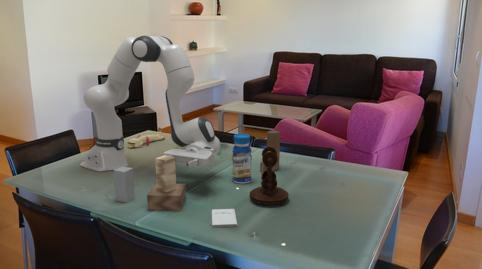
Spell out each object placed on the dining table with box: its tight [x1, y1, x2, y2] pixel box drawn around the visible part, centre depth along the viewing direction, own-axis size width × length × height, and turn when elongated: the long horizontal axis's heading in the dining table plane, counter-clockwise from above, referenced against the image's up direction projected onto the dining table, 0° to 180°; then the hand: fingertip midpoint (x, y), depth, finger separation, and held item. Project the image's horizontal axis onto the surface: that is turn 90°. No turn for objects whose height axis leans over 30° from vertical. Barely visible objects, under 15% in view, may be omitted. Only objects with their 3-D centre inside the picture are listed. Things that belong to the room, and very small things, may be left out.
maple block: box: [154, 155, 177, 192], centre depth 156 cm, size 5×5×12 cm
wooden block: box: [259, 129, 281, 173], centre depth 194 cm, size 9×4×18 cm, turn 139°
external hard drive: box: [211, 208, 238, 229], centre depth 146 cm, size 2×8×12 cm
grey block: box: [113, 166, 136, 203], centre depth 161 cm, size 5×5×12 cm
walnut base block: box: [146, 183, 187, 211], centre depth 158 cm, size 12×12×6 cm
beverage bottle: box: [231, 133, 253, 185], centre depth 180 cm, size 8×8×20 cm
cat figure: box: [127, 126, 166, 149], centre depth 240 cm, size 10×9×25 cm
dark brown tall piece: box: [248, 146, 289, 206], centre depth 160 cm, size 15×15×20 cm
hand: (177, 163), depth 162 cm, fingers open, 8 cm apart
